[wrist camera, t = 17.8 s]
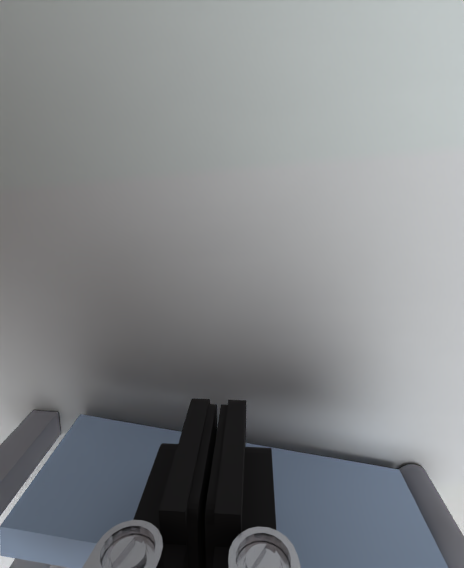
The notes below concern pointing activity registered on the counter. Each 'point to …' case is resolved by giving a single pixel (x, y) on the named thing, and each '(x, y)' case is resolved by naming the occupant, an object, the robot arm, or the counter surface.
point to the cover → (287, 492)
